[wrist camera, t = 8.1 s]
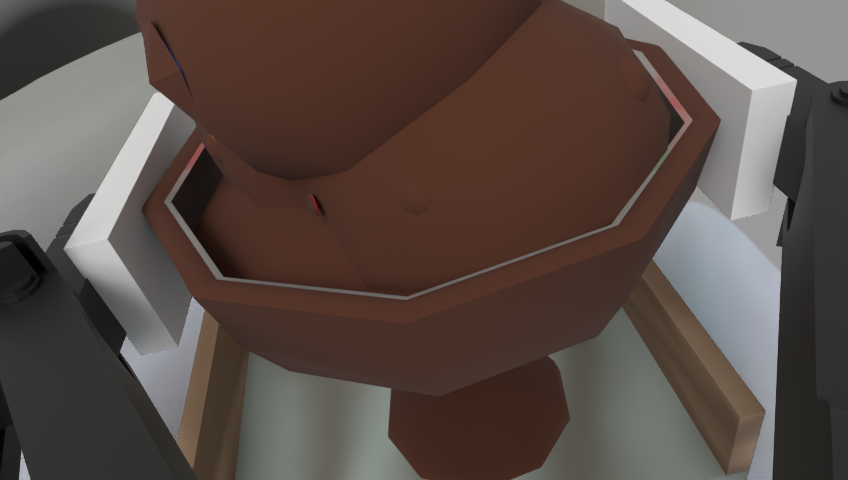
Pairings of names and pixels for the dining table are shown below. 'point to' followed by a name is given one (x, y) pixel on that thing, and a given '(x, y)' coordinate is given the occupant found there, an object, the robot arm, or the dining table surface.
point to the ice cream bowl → (421, 198)
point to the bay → (559, 475)
